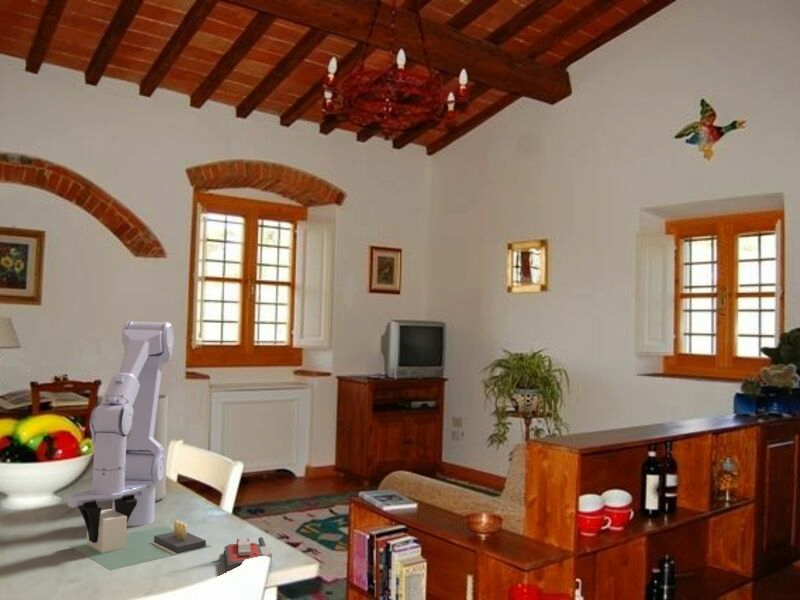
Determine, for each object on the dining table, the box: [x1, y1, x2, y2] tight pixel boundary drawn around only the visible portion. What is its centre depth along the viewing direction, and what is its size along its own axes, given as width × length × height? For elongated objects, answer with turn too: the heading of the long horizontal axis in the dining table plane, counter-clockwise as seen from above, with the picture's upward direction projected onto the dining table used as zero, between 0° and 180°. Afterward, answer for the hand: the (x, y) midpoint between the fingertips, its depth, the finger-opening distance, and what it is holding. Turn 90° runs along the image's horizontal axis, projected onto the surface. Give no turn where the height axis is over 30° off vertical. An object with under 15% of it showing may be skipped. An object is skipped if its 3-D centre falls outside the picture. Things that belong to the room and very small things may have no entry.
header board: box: [68, 520, 212, 571], centre depth 139 cm, size 18×20×5 cm
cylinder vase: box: [126, 393, 169, 503], centre depth 177 cm, size 12×12×25 cm
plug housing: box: [86, 508, 128, 553], centre depth 138 cm, size 7×4×6 cm, turn 46°
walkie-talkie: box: [223, 536, 273, 573], centre depth 135 cm, size 9×4×20 cm
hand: (106, 538), depth 138 cm, fingers closed on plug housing, 4 cm apart
